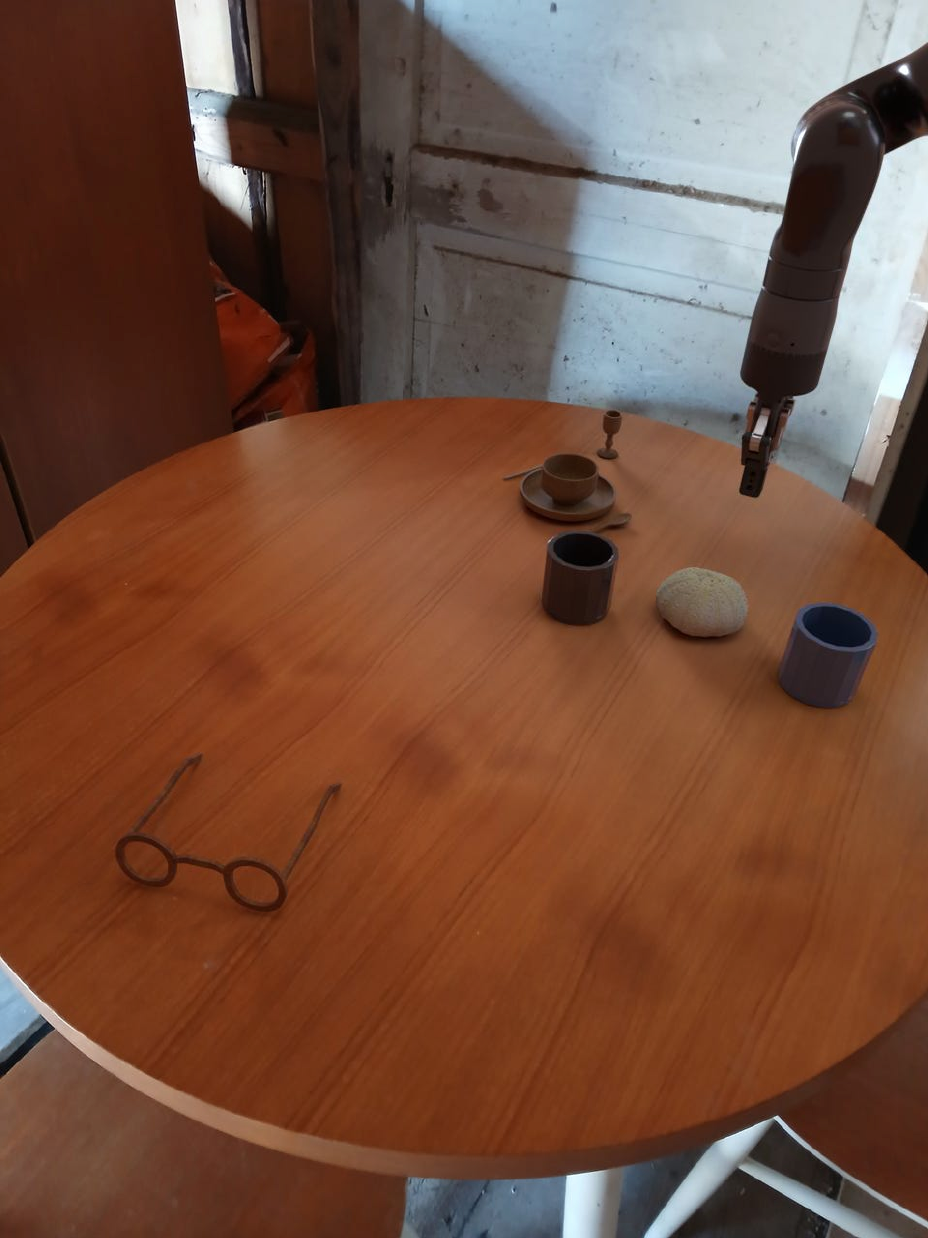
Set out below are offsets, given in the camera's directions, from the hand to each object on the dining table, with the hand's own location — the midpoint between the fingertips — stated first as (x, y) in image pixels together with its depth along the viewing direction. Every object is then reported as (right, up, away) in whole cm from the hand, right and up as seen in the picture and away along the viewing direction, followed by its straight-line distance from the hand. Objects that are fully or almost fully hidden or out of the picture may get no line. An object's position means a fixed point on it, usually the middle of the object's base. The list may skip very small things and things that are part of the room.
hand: (750, 493), depth 97 cm
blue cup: (+3, -20, -10) cm, 22 cm away
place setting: (-15, +2, +17) cm, 23 cm away
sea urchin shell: (-6, -14, -3) cm, 15 cm away
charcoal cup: (-19, -12, -2) cm, 23 cm away
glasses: (-49, -30, -26) cm, 63 cm away
